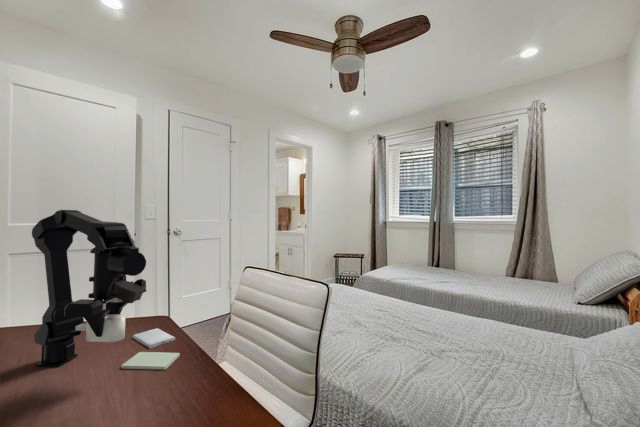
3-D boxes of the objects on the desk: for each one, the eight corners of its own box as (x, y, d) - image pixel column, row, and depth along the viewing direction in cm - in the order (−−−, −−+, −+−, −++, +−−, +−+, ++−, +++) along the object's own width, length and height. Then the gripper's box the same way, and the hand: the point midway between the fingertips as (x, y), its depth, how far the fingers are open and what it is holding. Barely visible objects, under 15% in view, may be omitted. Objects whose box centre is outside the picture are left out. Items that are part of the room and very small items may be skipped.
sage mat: (121, 368, 79) (121, 365, 79) (139, 354, 87) (139, 351, 87) (165, 369, 79) (165, 366, 79) (179, 355, 87) (179, 352, 87)
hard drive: (132, 334, 98) (149, 344, 91) (157, 327, 105) (175, 336, 97) (132, 339, 98) (149, 350, 91) (157, 332, 105) (175, 341, 97)
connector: (71, 341, 72) (72, 318, 72) (84, 334, 76) (85, 313, 76) (117, 342, 72) (118, 320, 72) (128, 335, 76) (129, 314, 76)
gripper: (113, 280, 65) (110, 350, 64) (159, 266, 83) (157, 321, 83) (63, 279, 65) (60, 349, 64) (120, 265, 83) (118, 320, 83)
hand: (105, 333), depth 74 cm, fingers closed on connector, 4 cm apart
